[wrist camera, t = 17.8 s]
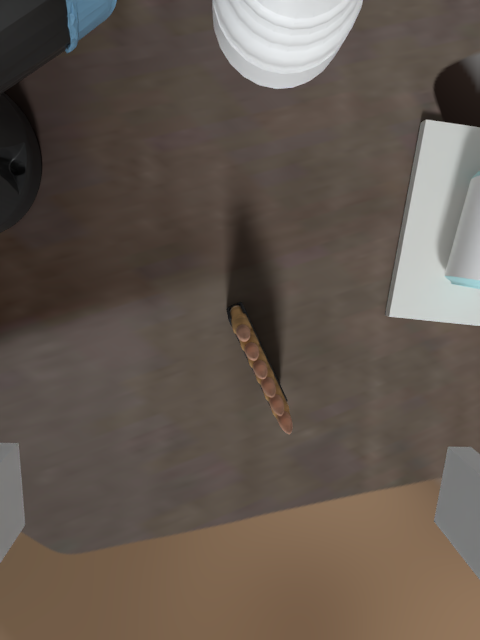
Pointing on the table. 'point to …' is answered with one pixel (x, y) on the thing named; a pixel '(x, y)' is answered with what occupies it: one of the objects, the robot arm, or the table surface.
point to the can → (467, 241)
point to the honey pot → (282, 37)
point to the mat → (435, 227)
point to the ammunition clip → (260, 364)
